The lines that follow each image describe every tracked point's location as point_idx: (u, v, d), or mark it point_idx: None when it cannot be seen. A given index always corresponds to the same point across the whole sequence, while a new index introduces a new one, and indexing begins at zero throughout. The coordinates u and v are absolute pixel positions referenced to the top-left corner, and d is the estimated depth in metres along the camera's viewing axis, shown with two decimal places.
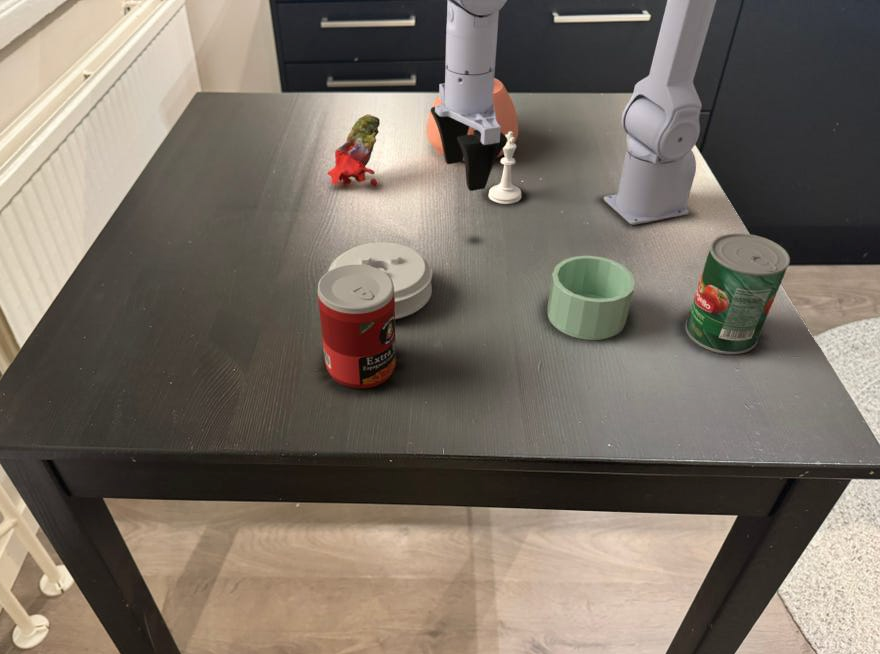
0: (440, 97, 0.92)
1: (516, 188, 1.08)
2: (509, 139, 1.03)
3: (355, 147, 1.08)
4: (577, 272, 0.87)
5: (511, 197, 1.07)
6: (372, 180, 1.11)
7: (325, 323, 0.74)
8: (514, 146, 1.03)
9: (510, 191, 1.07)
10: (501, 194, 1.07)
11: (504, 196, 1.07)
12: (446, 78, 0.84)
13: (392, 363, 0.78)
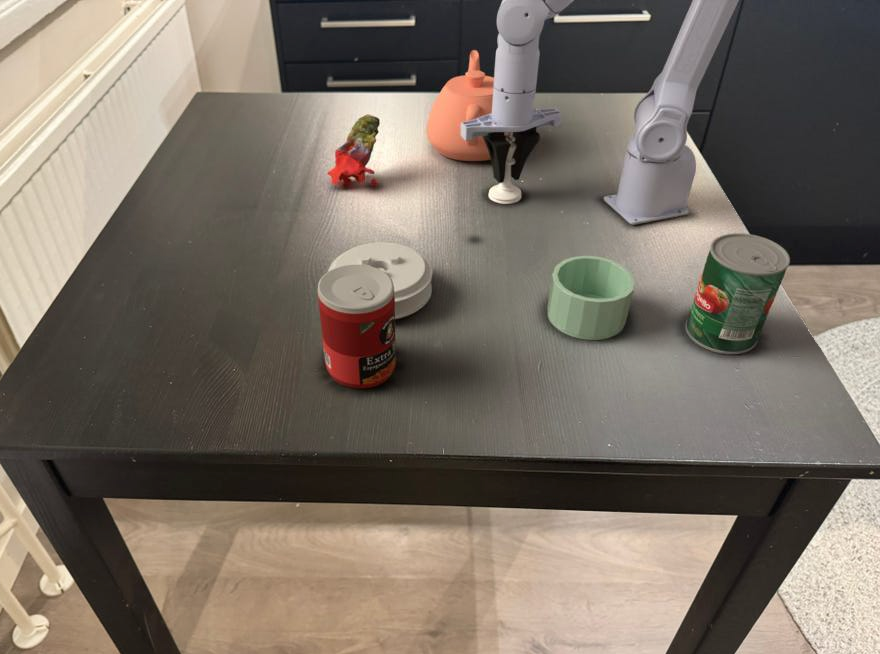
0: None
1: (516, 188, 1.08)
2: (509, 139, 1.03)
3: (355, 147, 1.08)
4: (577, 272, 0.87)
5: (511, 197, 1.07)
6: (372, 180, 1.11)
7: (325, 323, 0.74)
8: (514, 146, 1.03)
9: (510, 191, 1.07)
10: (501, 193, 1.07)
11: (504, 196, 1.07)
12: None
13: (392, 363, 0.78)
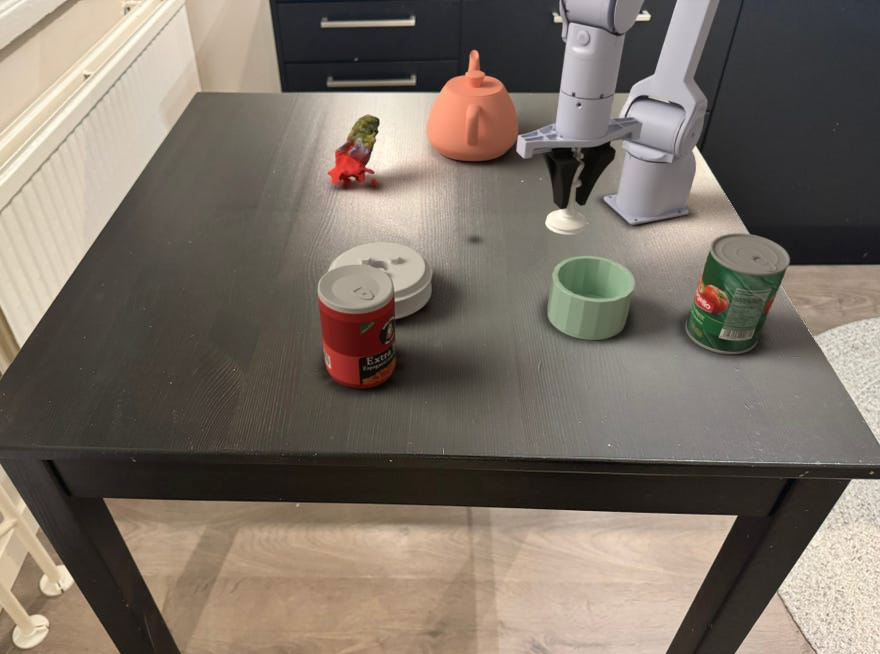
0: None
1: (580, 215, 0.88)
2: (576, 155, 0.82)
3: (355, 147, 1.08)
4: (577, 272, 0.87)
5: (575, 227, 0.86)
6: (372, 180, 1.11)
7: (325, 323, 0.74)
8: (582, 164, 0.83)
9: (573, 219, 0.87)
10: (562, 222, 0.86)
11: (567, 226, 0.86)
12: None
13: (392, 363, 0.78)
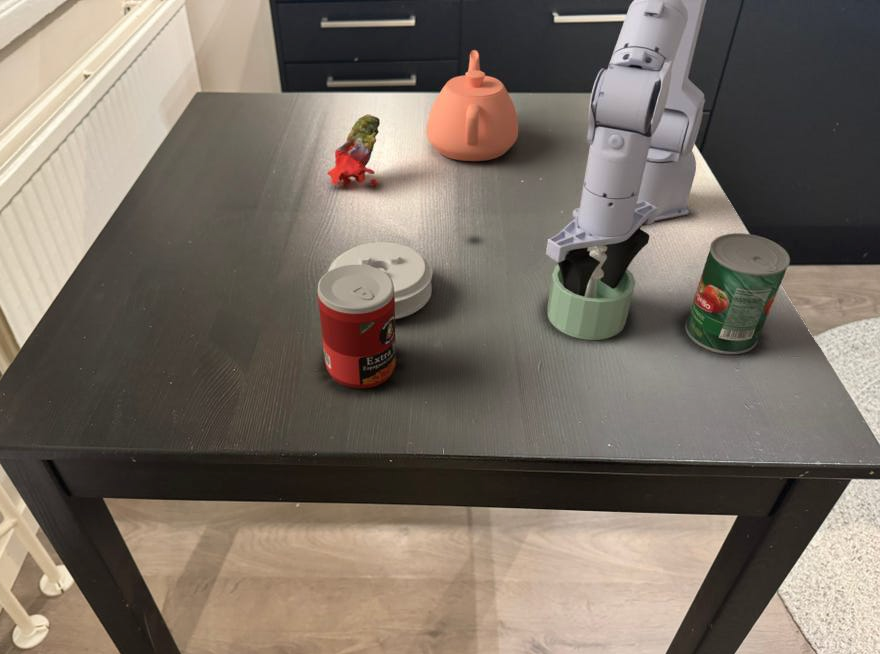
0: None
1: None
2: (599, 248, 0.80)
3: (355, 147, 1.08)
4: None
5: None
6: (372, 180, 1.11)
7: (325, 323, 0.74)
8: (605, 256, 0.81)
9: None
10: None
11: None
12: None
13: (392, 363, 0.78)
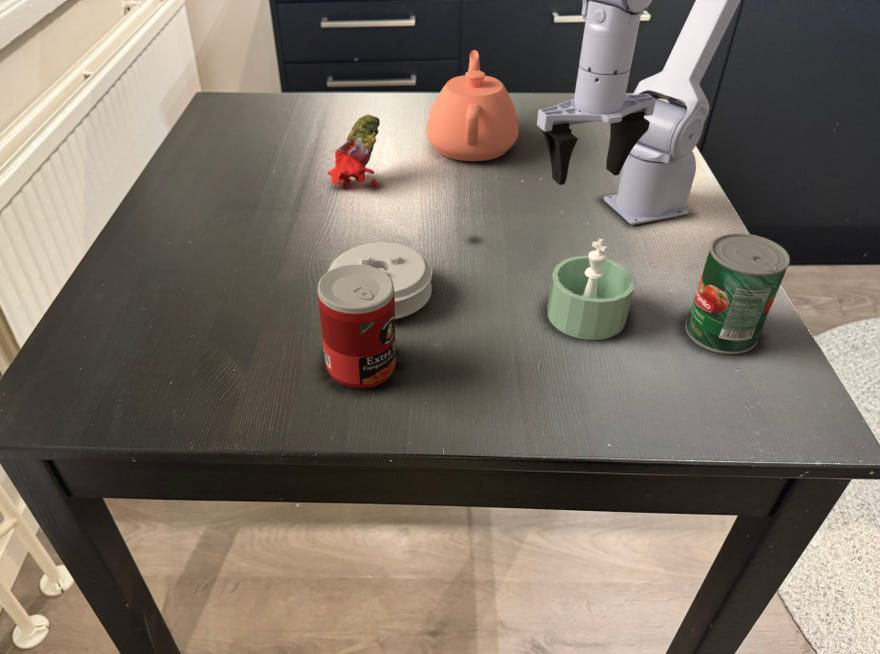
0: (548, 128, 0.84)
1: None
2: (599, 248, 0.80)
3: (355, 147, 1.08)
4: (577, 272, 0.87)
5: None
6: (372, 180, 1.11)
7: (325, 323, 0.74)
8: (605, 256, 0.81)
9: None
10: None
11: None
12: (614, 84, 0.81)
13: (392, 363, 0.78)
